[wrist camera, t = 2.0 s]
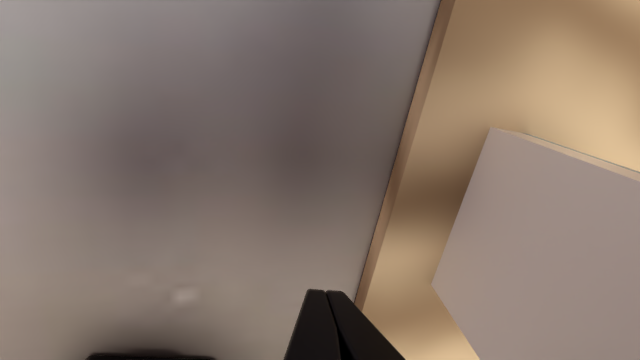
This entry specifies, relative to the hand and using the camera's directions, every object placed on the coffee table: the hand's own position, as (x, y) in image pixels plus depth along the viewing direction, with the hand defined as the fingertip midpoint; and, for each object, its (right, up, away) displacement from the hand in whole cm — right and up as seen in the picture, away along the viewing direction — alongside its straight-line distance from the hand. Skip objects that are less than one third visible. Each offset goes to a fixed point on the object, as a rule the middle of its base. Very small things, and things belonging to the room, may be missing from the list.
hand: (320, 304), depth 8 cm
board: (+11, +1, +9) cm, 14 cm away
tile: (+7, +1, +7) cm, 10 cm away
